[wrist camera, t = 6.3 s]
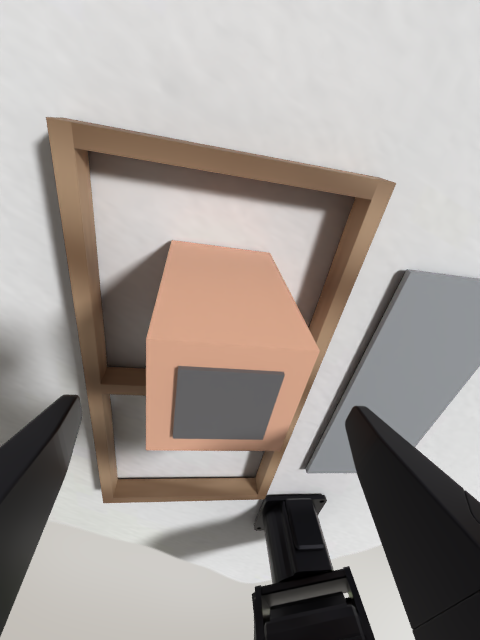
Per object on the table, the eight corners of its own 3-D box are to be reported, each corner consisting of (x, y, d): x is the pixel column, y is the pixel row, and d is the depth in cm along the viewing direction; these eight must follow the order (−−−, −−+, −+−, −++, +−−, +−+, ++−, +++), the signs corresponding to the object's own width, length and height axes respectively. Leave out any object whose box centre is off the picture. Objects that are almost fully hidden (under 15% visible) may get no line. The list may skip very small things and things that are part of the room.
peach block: (251, 330, 18) (280, 454, 11) (167, 324, 17) (145, 453, 11) (269, 252, 16) (321, 354, 9) (171, 240, 15) (145, 341, 8)
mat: (392, 468, 29) (394, 472, 29) (305, 469, 28) (306, 473, 27) (534, 286, 18) (540, 289, 18) (406, 269, 17) (410, 272, 17)
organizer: (261, 482, 28) (264, 499, 27) (108, 484, 26) (103, 503, 24) (379, 177, 14) (396, 183, 13) (62, 117, 12) (45, 117, 10)
